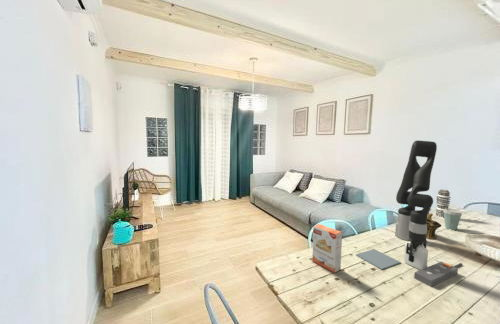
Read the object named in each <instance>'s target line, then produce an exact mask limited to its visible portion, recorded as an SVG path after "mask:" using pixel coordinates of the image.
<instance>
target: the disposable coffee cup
mask: <svg viewBox="0 0 500 324" xmlns="http://www.w3.org/2000/svg"><path fill="white" fill-rule="evenodd" d="M443 212H444V219H443V220H444V227H445V229H447V230H449V229H451V230H450V231H457V229H458V226H459V224H460V220H461V217H462V214H463V213H462V212H461V211H459V210H455V209H452V208H448V209H444V210H443Z"/></svg>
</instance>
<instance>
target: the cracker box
mask: <svg viewBox="0 0 500 324" xmlns="http://www.w3.org/2000/svg"><path fill="white" fill-rule="evenodd" d="M312 229H313V231H312V234H313V235H312V262H313V263H315V264H317V265H319V266H320V267H322V268H324V269H326V270H328V271H331V272H332V273H333V274H336V273H337V272H339V271H340V270H341V267H342V265H341V264H342V244H343V243H342V240H343V232H342V231H340V230H337V229H334V228H332V227H330V226H329V227H328V226H326V225H323V224H320V223H318V224H316V225H313V228H312Z"/></svg>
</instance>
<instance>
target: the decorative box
mask: <svg viewBox="0 0 500 324" xmlns="http://www.w3.org/2000/svg"><path fill="white" fill-rule="evenodd" d="M431 211H432V208H430V210H429V213H428V216H427V236H426V239H428V240H433V239H437V238H438V237H437V234H436V230H437V229H439V228H441V227H442V224H441V223H439V222H438V221H437V220H432V217H433V215H434V214H433V213H430V212H431Z"/></svg>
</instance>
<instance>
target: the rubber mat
mask: <svg viewBox="0 0 500 324" xmlns="http://www.w3.org/2000/svg"><path fill="white" fill-rule="evenodd" d="M355 256H357V257H358V258H359V259H361V260H364V261H366V262H367V263H368V264H370V265H372V266H374V267H376V268H378V269H379V270H382V271H383V270H386V269H387V268H390V267H394V266H396V265H399V264H401V263H402V262H401V261H399V260H398V259H396V258H393V257H391V256H390V255H388V254H386V253H383V252H381V251H379V250H377V249H375V248H373V249H370V250H365V251H362V252H359V253H356V254H355Z"/></svg>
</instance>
